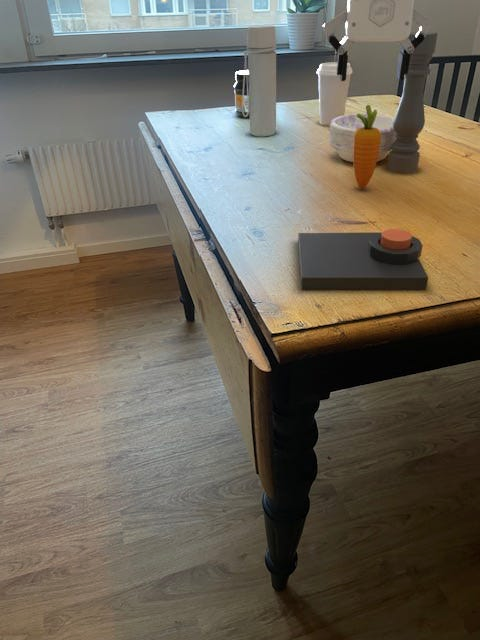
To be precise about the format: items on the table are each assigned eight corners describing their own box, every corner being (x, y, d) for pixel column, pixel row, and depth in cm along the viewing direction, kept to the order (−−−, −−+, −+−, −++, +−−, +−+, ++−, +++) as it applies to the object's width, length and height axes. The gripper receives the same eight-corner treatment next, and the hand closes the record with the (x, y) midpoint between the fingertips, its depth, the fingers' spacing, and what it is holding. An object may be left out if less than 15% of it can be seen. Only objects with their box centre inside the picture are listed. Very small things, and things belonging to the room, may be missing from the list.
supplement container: (249, 120, 148) (248, 75, 141) (228, 115, 155) (226, 72, 149) (276, 114, 153) (276, 71, 146) (255, 109, 160) (254, 68, 154)
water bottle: (271, 129, 138) (271, 24, 124) (280, 136, 132) (281, 26, 118) (239, 132, 136) (235, 26, 122) (247, 139, 130) (243, 28, 116)
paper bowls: (379, 172, 104) (384, 132, 100) (316, 161, 112) (317, 124, 108) (407, 154, 114) (413, 117, 110) (347, 145, 122) (350, 110, 118)
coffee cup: (311, 126, 139) (313, 66, 131) (317, 118, 147) (320, 61, 138) (345, 127, 137) (350, 66, 128) (350, 119, 144) (355, 61, 136)
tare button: (406, 238, 70) (408, 228, 70) (413, 251, 67) (415, 240, 66) (377, 239, 71) (379, 228, 70) (382, 251, 67) (384, 241, 67)
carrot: (370, 195, 93) (380, 110, 85) (345, 192, 96) (352, 108, 87) (378, 187, 97) (388, 104, 89) (353, 184, 99) (360, 102, 91)
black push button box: (406, 243, 76) (410, 221, 74) (429, 290, 65) (434, 266, 63) (297, 244, 77) (298, 222, 75) (301, 290, 66) (302, 266, 64)
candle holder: (399, 163, 109) (418, 31, 95) (423, 169, 105) (446, 32, 91) (380, 169, 106) (396, 33, 92) (404, 176, 102) (425, 35, 88)
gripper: (329, -44, 73) (321, 84, 83) (450, -47, 72) (428, 82, 82) (325, -42, 80) (318, 76, 89) (436, -46, 78) (417, 75, 88)
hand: (371, 79), depth 86 cm, fingers open, 9 cm apart
